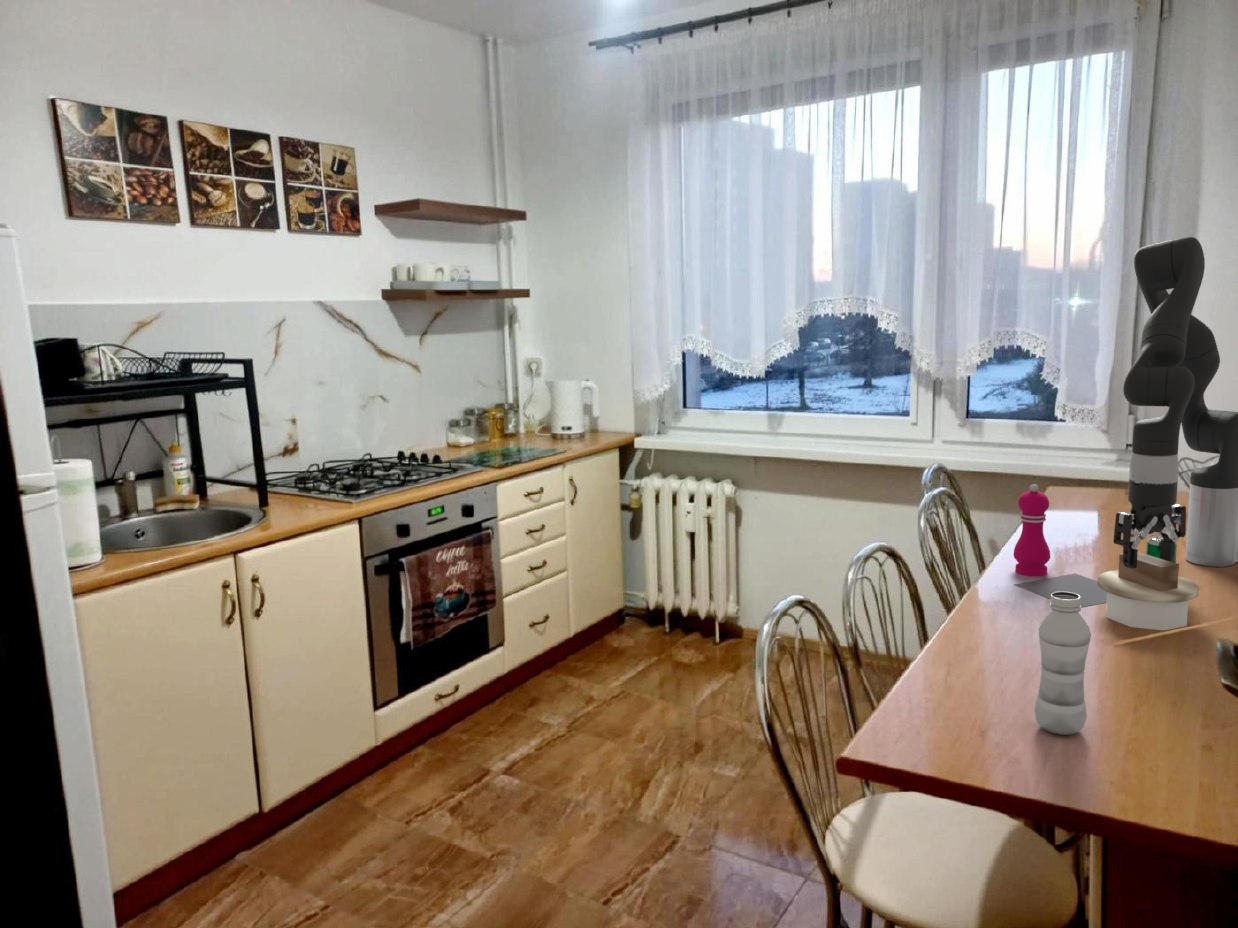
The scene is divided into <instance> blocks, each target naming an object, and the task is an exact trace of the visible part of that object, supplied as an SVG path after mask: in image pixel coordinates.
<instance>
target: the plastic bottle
mask: <svg viewBox="0 0 1238 928" xmlns="http://www.w3.org/2000/svg"><path fill="white" fill-rule="evenodd" d="M1080 599H1081V598H1080V596H1079V595H1078V594H1075V593H1072V592H1054V593H1052V594H1051V599H1050V602H1049V609H1050V610H1051V611H1050V612H1048V614H1046V616H1045V617H1044V618H1043V619H1042V621H1041V623H1040V624H1039V627H1038V638H1039V640H1038V641H1039V646H1040V647H1039V648H1040V649H1039V650H1040V659H1041V662H1040V665H1041V667H1040V668H1041V669H1040V671H1041V672H1040V674H1041V675H1040V682H1039V686H1038V687H1039V688H1038V694H1037V697H1036V699H1035V704H1034V714H1035V715H1034V716H1035V720H1036V722H1037V724H1038V725H1039V727H1040V728H1042V729H1043V730H1045V731H1047V732H1049V733H1052V734H1055V735H1056V734H1057V735H1063V736H1066V735H1075V734H1078V733H1080V731H1082V730H1083V729H1084V728H1085V725H1086V721H1087V717H1088V714H1087V706H1086V700H1085V686H1084V683H1085V682H1084V679H1085V670H1086V669H1085V668H1086V663H1087V662H1086V660H1087V657H1088V656H1087V655H1088V652H1089V648H1090V643H1091V639H1092V638H1091V637H1092V634H1091V630H1090V627H1089V625H1088V623H1087V622H1086V620H1085V618H1083V616H1082V615H1081V614H1080V611H1081V610H1082V608H1081V605H1080Z"/></svg>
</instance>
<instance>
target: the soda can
mask: <svg viewBox="0 0 1238 928" xmlns="http://www.w3.org/2000/svg"><path fill="white" fill-rule="evenodd" d="M1161 540H1163V539H1162V538H1161V536H1160V535H1159V534H1155V535H1154V534H1153V535H1149V536H1148V539H1147V540H1146V542H1145V554H1146V555H1150V556H1153V557H1156V558H1160V544H1161ZM1177 547H1178V545H1177V541H1176V542H1175V553H1174V557H1173V561H1171V562H1173V563H1176V562H1177ZM1176 564H1177V563H1176Z"/></svg>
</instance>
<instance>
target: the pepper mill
mask: <svg viewBox="0 0 1238 928" xmlns="http://www.w3.org/2000/svg"><path fill="white" fill-rule="evenodd" d="M1039 489H1040V488H1039V486H1038V484H1035V483H1034V484H1031V485H1030V486H1029V490H1028V491H1026V492H1023V493H1022V494H1020V496H1019V498H1018V500H1017V501H1018V502H1017V506H1018V508H1019V510H1021V512H1020V513H1019V515H1020V517H1019V518H1020V520H1021V522H1022V528H1021V529H1022V530H1021V534H1020V536H1019V538H1018V540H1017V542H1016V544H1015V546H1014V550H1013V558H1014V559H1015V561H1016V562H1017V563H1016V564H1015V573H1016V574H1019V575H1021V576H1024V577H1025V576H1026V577H1035V578H1038V577H1044V576H1046V575H1048V566H1047V565H1046V564H1047V563H1048V562H1049V561H1050V560H1051V551H1050V547H1049V545H1048V543H1047V541H1046V538H1045V535H1044V523H1045V522H1046V520H1047V518H1046V517H1047V514H1046V512H1047V511H1048V509H1049V507H1050V501H1049V498H1048V496H1047V495H1046V494H1045V493H1043V492H1042V491H1039Z"/></svg>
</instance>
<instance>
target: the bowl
mask: <svg viewBox="0 0 1238 928" xmlns="http://www.w3.org/2000/svg"><path fill="white" fill-rule="evenodd" d="M1188 611H1189V601H1184V602H1176V603H1157V602H1146V601H1138V600H1132V599H1127V598H1123V597H1119V596H1116V595H1113V594H1110V593H1108V592H1107V597H1106V603H1105V614H1106V618H1107V619H1109V620H1111V621H1115V622H1117V623H1120V624H1122V625H1125V626H1127V627H1130V628H1136V629H1138V628H1139V629H1147V630H1157V631H1168V630H1173V629H1178V628H1183V627H1187V626H1188V615H1189V614H1188Z"/></svg>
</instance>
